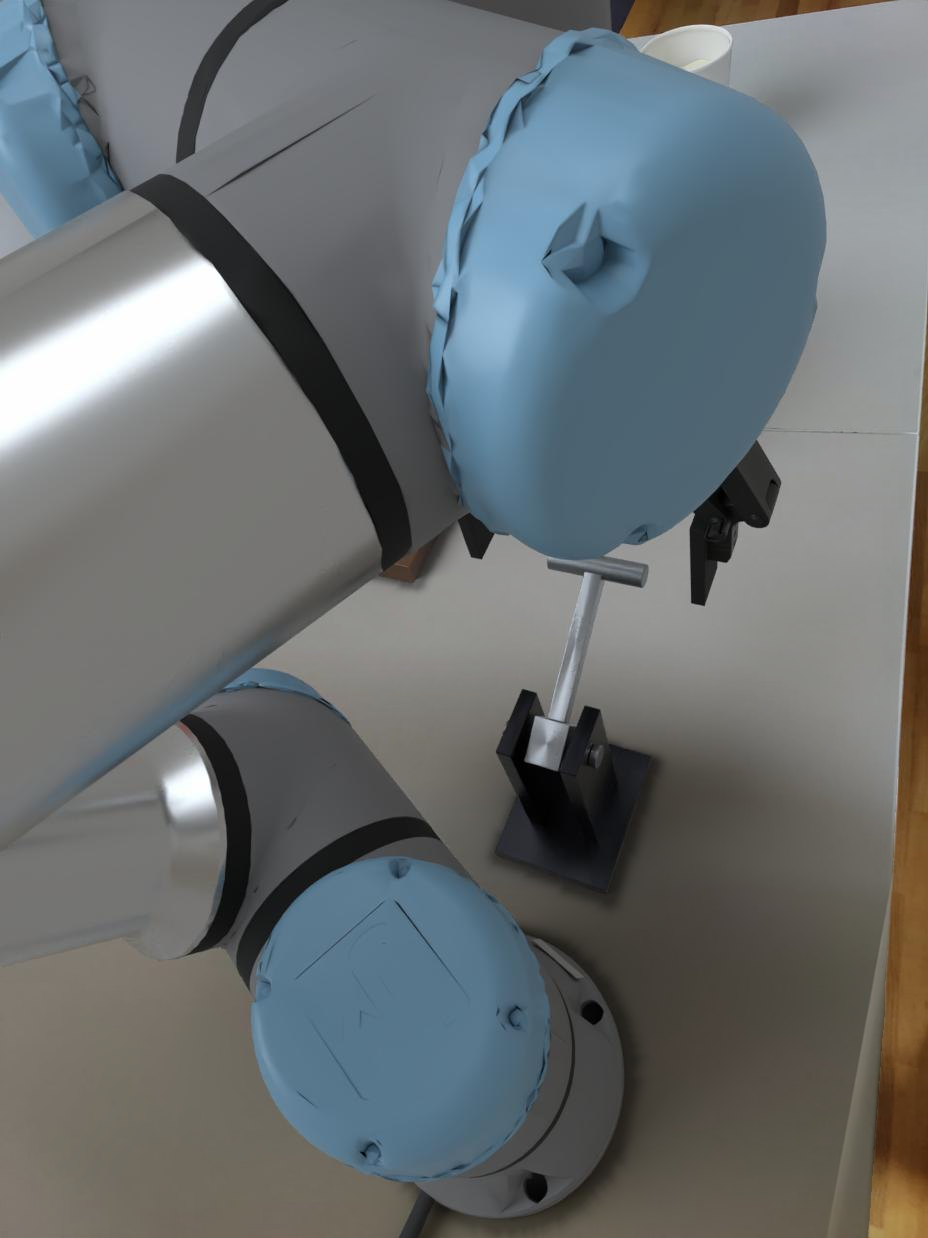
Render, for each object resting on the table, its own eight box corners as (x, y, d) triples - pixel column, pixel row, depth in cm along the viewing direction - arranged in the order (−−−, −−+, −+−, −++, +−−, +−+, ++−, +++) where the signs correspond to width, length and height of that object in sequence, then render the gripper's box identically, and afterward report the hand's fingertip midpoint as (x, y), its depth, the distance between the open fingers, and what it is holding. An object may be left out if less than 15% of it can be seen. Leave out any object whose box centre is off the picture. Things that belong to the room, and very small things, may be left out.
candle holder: (628, 160, 102) (620, 53, 92) (699, 125, 103) (698, 14, 93) (674, 194, 96) (669, 82, 87) (748, 156, 97) (752, 41, 87)
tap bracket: (547, 732, 64) (515, 644, 53) (652, 762, 60) (640, 674, 50) (498, 857, 59) (453, 787, 49) (607, 896, 56) (584, 831, 46)
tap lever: (559, 550, 54) (548, 542, 52) (651, 568, 51) (644, 560, 49) (507, 752, 53) (494, 752, 51) (599, 780, 51) (589, 781, 49)
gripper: (896, 182, 30) (825, 552, 47) (311, 175, 40) (429, 483, 57) (855, 322, 26) (795, 665, 44) (229, 277, 36) (380, 571, 54)
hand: (588, 562), depth 50 cm, fingers open, 13 cm apart
